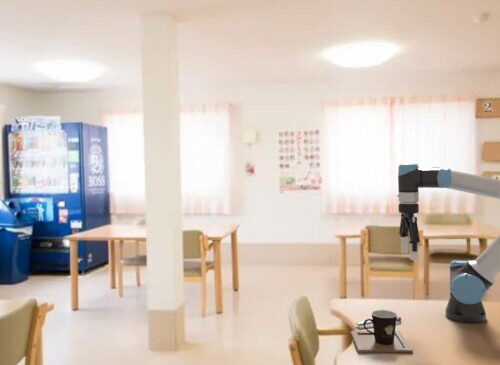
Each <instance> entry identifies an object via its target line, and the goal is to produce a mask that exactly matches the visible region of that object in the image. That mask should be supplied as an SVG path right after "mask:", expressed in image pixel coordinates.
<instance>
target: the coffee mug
mask: <svg viewBox="0 0 500 365" xmlns="http://www.w3.org/2000/svg"><path fill="white" fill-rule="evenodd" d="M397 317H398V314H397V313H396V312H394V311H391V310H387V309H380V310H378V309H377V310H374V311H372V312H371V318H367V319H365V320H363V321H364V324H363V326H364V328H365V331H368V332H370V333H371V334H373V335H374V336H375V342H376V343H378V344H381V345H391V344H393V343H394V336H395V331H396V325H397V324H396V318H397ZM367 321H372V323H373V327H372V328H373V331H374V333H373V332H371V331H372V330H370V329H369V328H366V327H365V323H366V322H367Z"/></svg>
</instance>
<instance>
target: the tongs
mask: <svg viewBox="0 0 500 365" xmlns="http://www.w3.org/2000/svg"><path fill="white" fill-rule="evenodd" d="M364 321H365V320H363V321H362V320H361V321H358V322H355V325H356V326H357V328H358V329H360V330H364V329H365V328H364V326H363V324H364ZM401 323H402V318H401V317H400V316H397V318H396V325H401ZM365 327H366V328H367V329H371V328H373V323H372V321H367V322H366V323H365ZM365 330H366V329H365Z"/></svg>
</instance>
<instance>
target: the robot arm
mask: <svg viewBox="0 0 500 365" xmlns="http://www.w3.org/2000/svg"><path fill="white" fill-rule="evenodd" d="M397 174H398V175H397V179H398V180H397V183H398V185H397V186H398V194H397V196H396V197H397V198H398V202H399V203H398V213H399V214H400V224H399V232H398V234H399V236H400V253H401V254H408V253H409V252H410V254H409V259H410V261H418V260H419V243H420V231H419V227H418V217H417V216H415V214H418V213H419V208H420V206H419V205H420V204H419V202H420V198H419V197H420V196H419V193H420V192H419V189H420V188H425V189H426V188H428V189H430V188H431V189H432V188H433V189H434V188H435V189H437V188H439V189H448V190H449V189H450V190H455V191H458V192H459V191H460V192H463V193H469V194H474V195H478V196H483V197H488V198H492V199H498V200H500V179H499V178H493V177H487V176H484V175H478V174H474V173H473V174H472V173H468V172H467V173H466V172H464V171H463V172H462V171H458V170H452V169H450V168H449V167H448V168H446V167H439V166H434V167H430V168H420V167H419V164H418V163H401V164H399V166H398V170H397ZM409 239H410V240H409ZM499 272H500V234H499V235H498V236H497V237H496V238H495V239H494V240H493V241H492V242H491V243H490V244H489V245H488V246H487V247H486V248H485V249H484V250H483V251H482V252H481V254H479V255H478V256H477V257H476V258H475V259H474V260H452V261H450V263H449V299H448V302H447V305H446V307H445V316H446V317H447V318H448V319H449V320H451V321H455V322H459V323H460V322H461V323H466V324H467V323H470V324H478V323H483V322H486V320H487V311H486V309H485V307H484V303H483V301H482V300H483V299H484V297H485V296H486V293H487V291H488V290H489V289H490V288H491V287H492V286H493V285H494V284H495V283H496V282H495V277H496V275H498V273H499Z"/></svg>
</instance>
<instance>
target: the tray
mask: <svg viewBox="0 0 500 365" xmlns="http://www.w3.org/2000/svg"><path fill="white" fill-rule="evenodd" d="M370 331H371V332H373V333H374V330H370ZM350 335H351V338H352V340H353V342H354V345H355V348H356V350H357V353H358V354H390V355H391V354H396V355H397V354H399V355H401V354H407V355H408V354H413V353H414V350H413V348H412V347H411V345H410V344H409V342H408V340H406V337H404V334H402V331H401V330H395V336H394V343H393V344H391V345H381V344H378V343H376V342H375V336H374V335H373V334H371V333H370V332H368V331H367V330H350Z"/></svg>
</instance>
